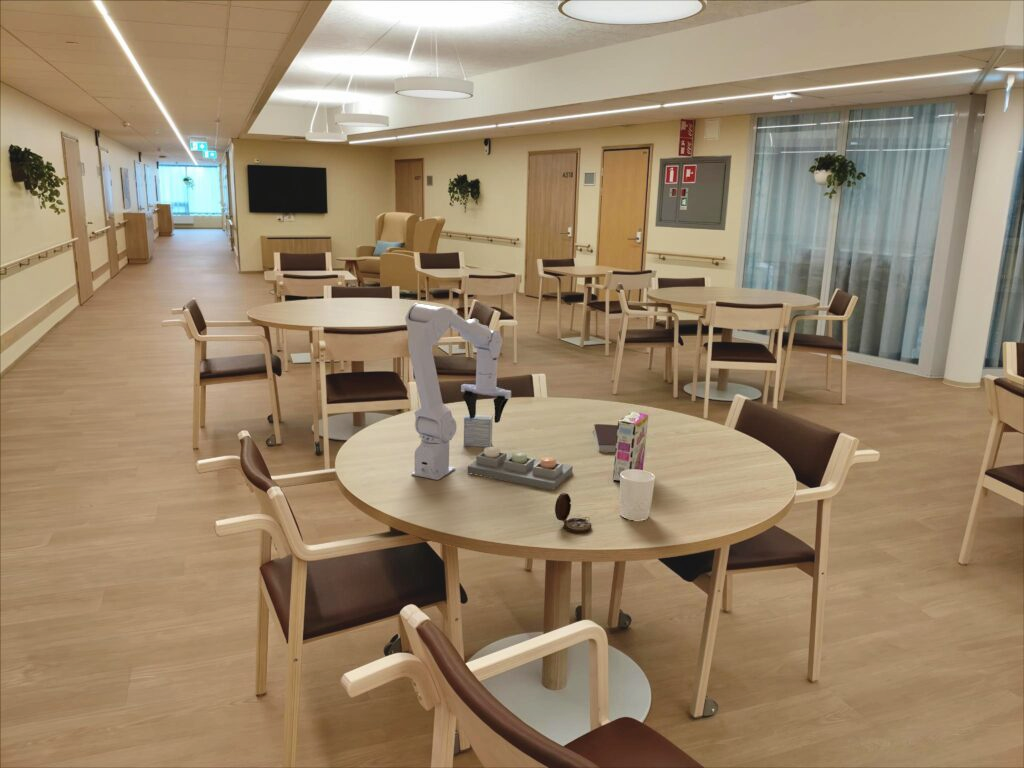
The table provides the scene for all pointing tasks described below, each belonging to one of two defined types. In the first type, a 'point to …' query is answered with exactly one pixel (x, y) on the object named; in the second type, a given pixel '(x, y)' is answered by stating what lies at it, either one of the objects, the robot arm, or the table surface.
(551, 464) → the terracotta button
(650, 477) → the white cup
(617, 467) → the candy bar box
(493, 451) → the off-white button
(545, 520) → the table surface
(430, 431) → the robot arm
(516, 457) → the sage green button
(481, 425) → the medicine box
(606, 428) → the book
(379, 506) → the table surface
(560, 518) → the compass
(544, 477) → the button board
